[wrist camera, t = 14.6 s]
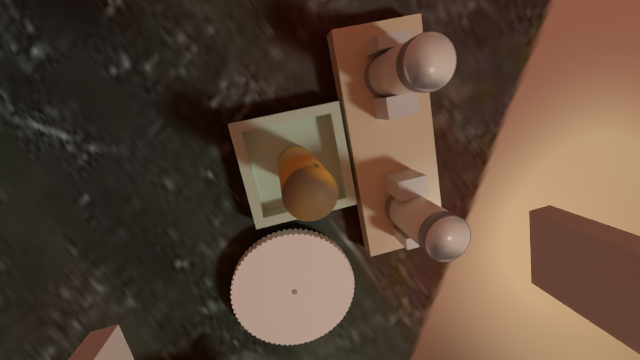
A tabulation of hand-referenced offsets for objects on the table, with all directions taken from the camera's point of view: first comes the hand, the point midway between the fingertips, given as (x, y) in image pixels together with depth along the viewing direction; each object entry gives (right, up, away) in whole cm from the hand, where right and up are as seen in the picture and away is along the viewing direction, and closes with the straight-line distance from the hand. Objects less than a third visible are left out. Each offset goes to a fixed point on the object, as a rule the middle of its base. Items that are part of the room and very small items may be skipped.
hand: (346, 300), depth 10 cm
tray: (-4, +6, +24) cm, 25 cm away
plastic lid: (-4, -8, +28) cm, 29 cm away
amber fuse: (-3, +5, +23) cm, 24 cm away
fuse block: (+7, +8, +25) cm, 27 cm away
